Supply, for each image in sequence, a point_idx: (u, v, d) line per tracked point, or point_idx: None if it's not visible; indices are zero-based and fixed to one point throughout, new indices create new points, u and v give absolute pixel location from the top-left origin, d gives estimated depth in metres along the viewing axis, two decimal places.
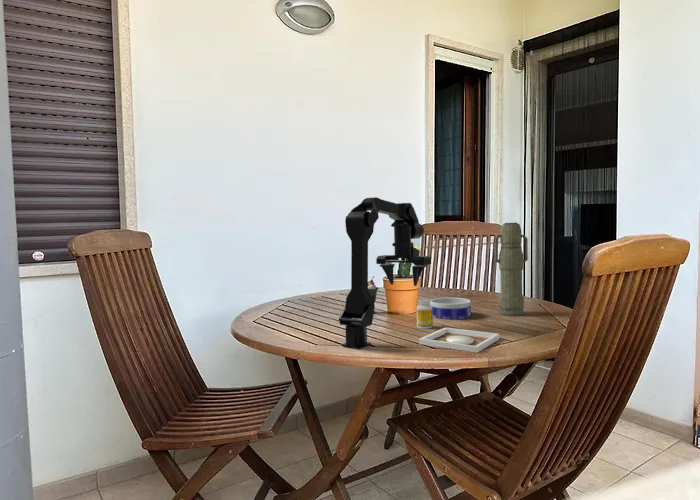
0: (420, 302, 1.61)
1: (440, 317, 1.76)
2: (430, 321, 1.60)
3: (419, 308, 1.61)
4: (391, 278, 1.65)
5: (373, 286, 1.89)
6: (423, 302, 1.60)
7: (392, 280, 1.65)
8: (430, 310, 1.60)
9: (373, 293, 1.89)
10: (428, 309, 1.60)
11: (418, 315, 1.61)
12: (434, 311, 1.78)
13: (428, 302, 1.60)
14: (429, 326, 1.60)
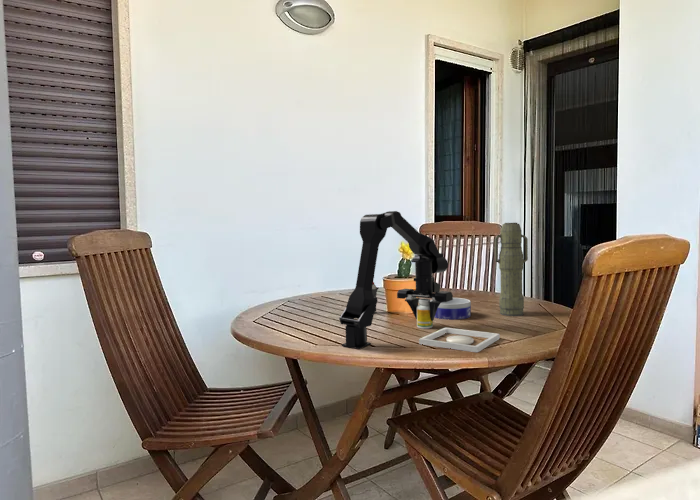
0: (420, 302, 1.61)
1: (440, 317, 1.76)
2: (430, 321, 1.60)
3: (419, 308, 1.61)
4: (416, 313, 1.64)
5: (373, 286, 1.89)
6: (423, 302, 1.60)
7: None
8: None
9: (373, 293, 1.89)
10: (428, 309, 1.60)
11: (418, 315, 1.61)
12: None
13: (428, 302, 1.60)
14: (429, 326, 1.60)
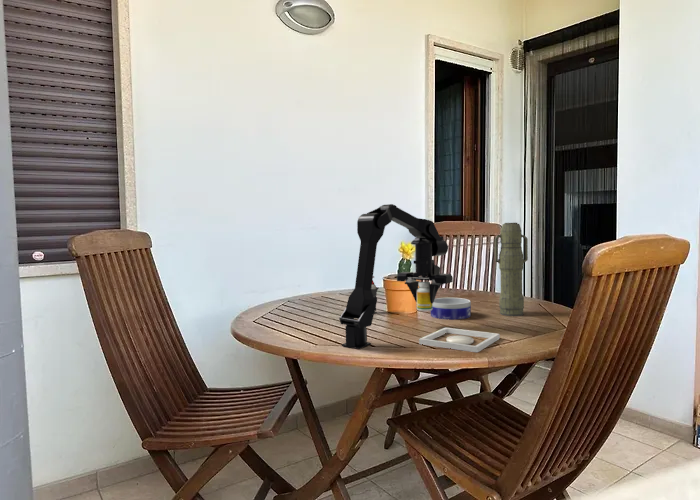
0: (420, 284, 1.61)
1: (440, 317, 1.76)
2: (430, 303, 1.60)
3: (419, 290, 1.60)
4: (416, 296, 1.63)
5: (373, 286, 1.89)
6: (423, 284, 1.60)
7: None
8: None
9: (373, 293, 1.89)
10: (428, 291, 1.60)
11: (418, 298, 1.61)
12: (434, 311, 1.78)
13: (428, 284, 1.60)
14: (429, 308, 1.60)
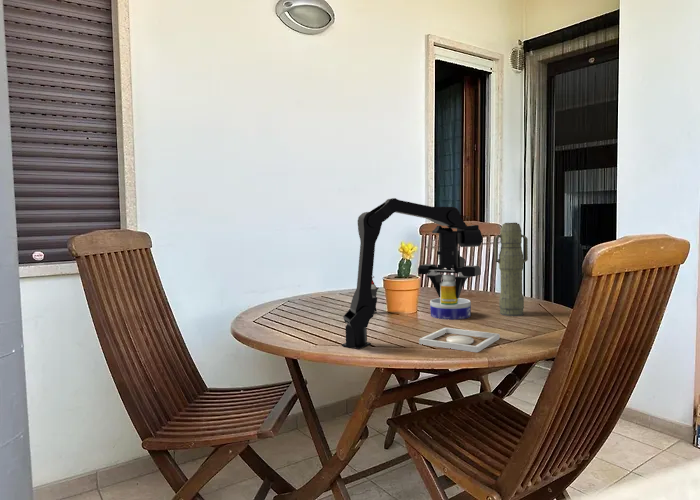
0: (444, 278, 1.46)
1: (440, 317, 1.76)
2: (455, 298, 1.45)
3: (443, 284, 1.45)
4: (439, 290, 1.48)
5: (373, 286, 1.89)
6: (448, 277, 1.45)
7: None
8: (455, 286, 1.45)
9: (373, 293, 1.89)
10: (453, 285, 1.45)
11: (442, 292, 1.46)
12: (434, 311, 1.78)
13: (453, 277, 1.45)
14: (454, 304, 1.45)
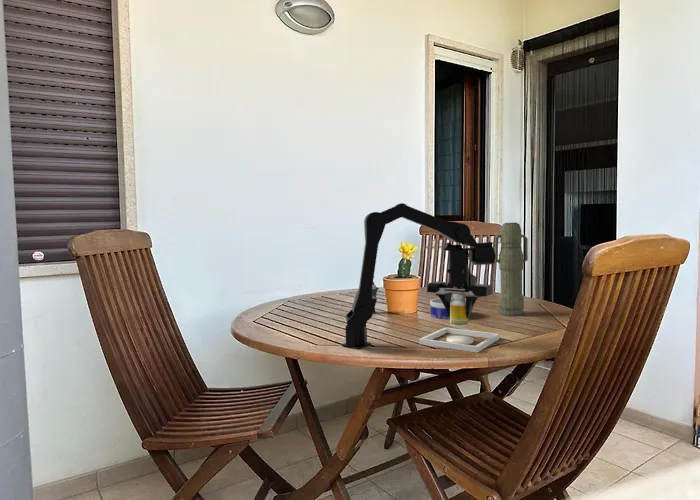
0: (454, 296, 1.40)
1: (440, 317, 1.76)
2: (466, 318, 1.40)
3: (453, 303, 1.40)
4: (449, 309, 1.43)
5: (373, 286, 1.89)
6: (458, 296, 1.40)
7: None
8: None
9: (373, 293, 1.89)
10: (464, 304, 1.39)
11: (452, 311, 1.41)
12: (434, 311, 1.78)
13: (464, 296, 1.40)
14: (465, 324, 1.40)
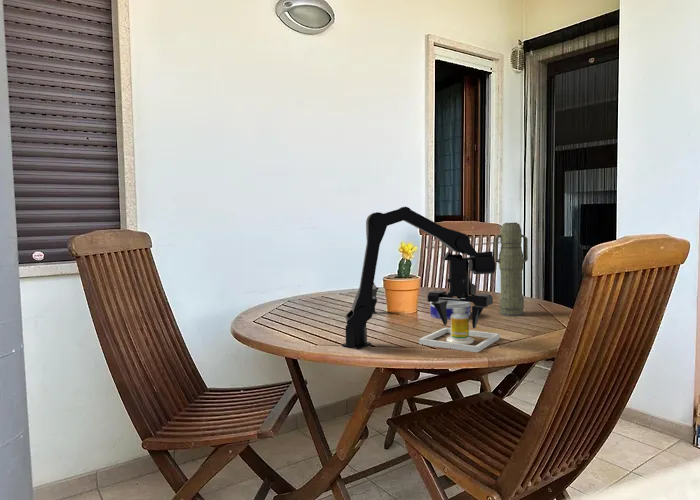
0: (455, 310, 1.41)
1: (440, 317, 1.76)
2: (466, 332, 1.40)
3: (454, 317, 1.40)
4: (444, 318, 1.44)
5: (373, 286, 1.89)
6: (458, 310, 1.40)
7: (445, 320, 1.45)
8: (466, 319, 1.40)
9: (373, 293, 1.89)
10: (464, 318, 1.40)
11: (452, 325, 1.41)
12: (434, 311, 1.78)
13: (464, 310, 1.40)
14: (465, 337, 1.40)
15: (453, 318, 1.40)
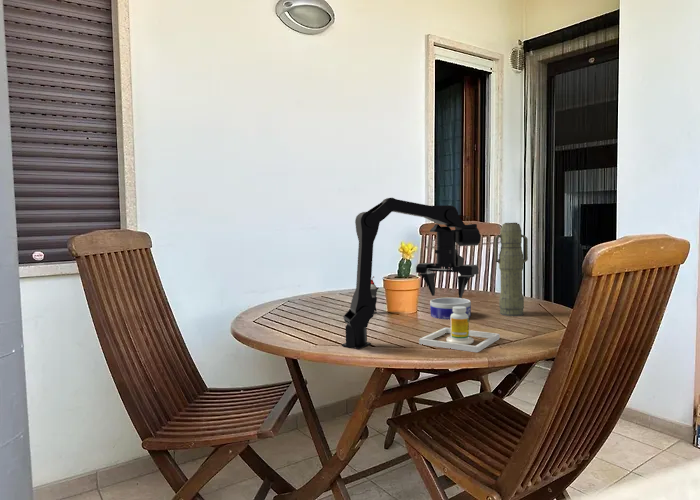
0: (455, 310, 1.41)
1: (440, 317, 1.76)
2: (466, 332, 1.40)
3: (454, 317, 1.40)
4: (432, 288, 1.49)
5: (373, 286, 1.89)
6: (458, 310, 1.40)
7: (433, 291, 1.49)
8: (466, 319, 1.40)
9: (373, 293, 1.89)
10: (464, 318, 1.39)
11: (452, 325, 1.41)
12: (434, 311, 1.78)
13: (464, 310, 1.40)
14: (465, 337, 1.40)
15: (453, 318, 1.40)
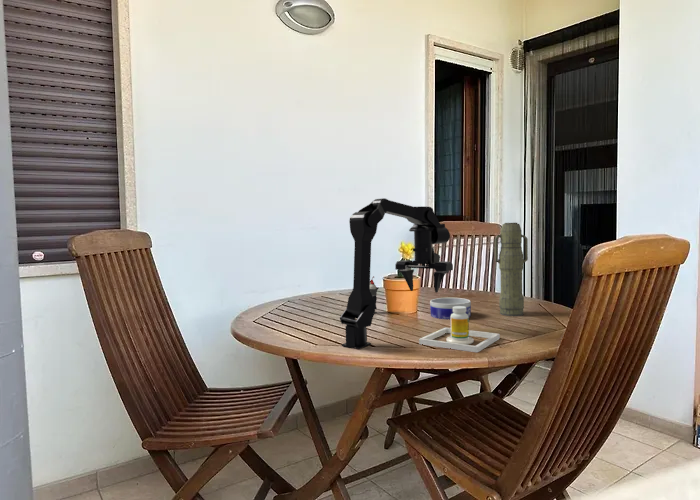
0: (455, 310, 1.40)
1: (440, 317, 1.76)
2: (466, 332, 1.40)
3: (454, 317, 1.40)
4: (411, 284, 1.60)
5: (373, 286, 1.89)
6: (458, 310, 1.40)
7: (412, 286, 1.60)
8: (466, 319, 1.40)
9: (373, 293, 1.89)
10: (464, 318, 1.39)
11: (452, 325, 1.41)
12: (434, 311, 1.78)
13: (464, 310, 1.40)
14: (465, 337, 1.40)
15: (453, 318, 1.40)
